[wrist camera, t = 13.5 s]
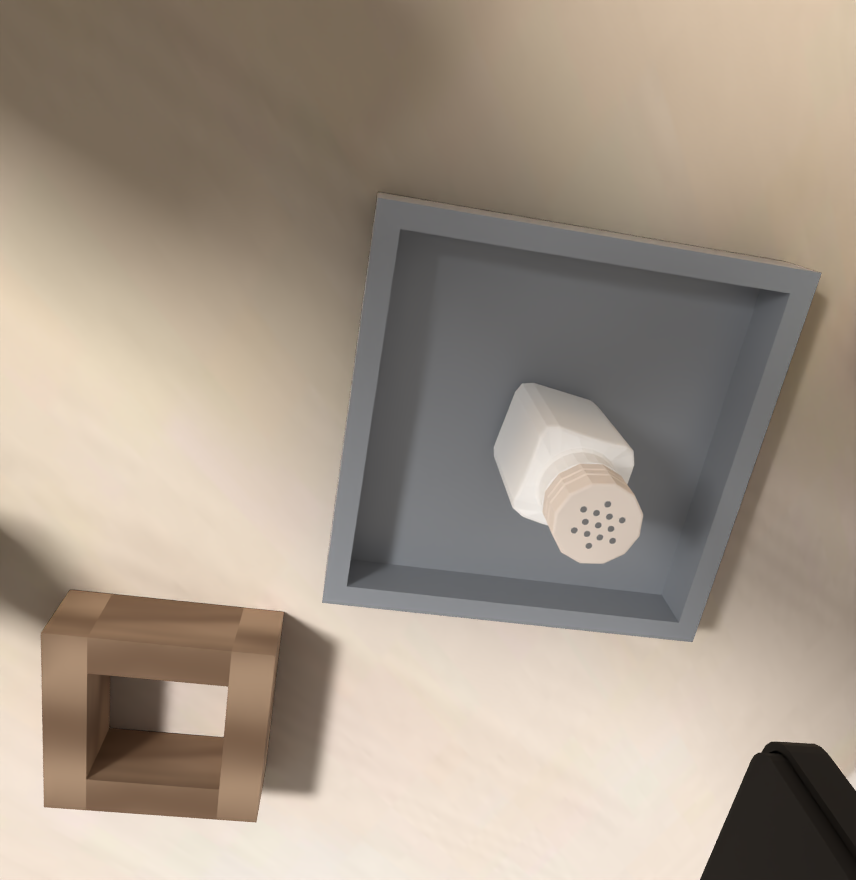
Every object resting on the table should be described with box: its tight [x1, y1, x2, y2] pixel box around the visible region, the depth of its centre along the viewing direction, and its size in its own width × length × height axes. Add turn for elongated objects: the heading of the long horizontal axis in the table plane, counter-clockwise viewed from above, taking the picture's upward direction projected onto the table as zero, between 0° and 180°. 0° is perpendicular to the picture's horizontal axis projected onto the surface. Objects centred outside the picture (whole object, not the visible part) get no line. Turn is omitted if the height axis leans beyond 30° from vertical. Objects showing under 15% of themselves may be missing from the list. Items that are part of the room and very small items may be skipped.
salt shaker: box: [494, 383, 643, 564], centre depth 31 cm, size 4×4×10 cm
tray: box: [322, 192, 821, 642], centre depth 34 cm, size 18×18×3 cm
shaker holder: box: [41, 590, 284, 822], centre depth 38 cm, size 10×10×4 cm
